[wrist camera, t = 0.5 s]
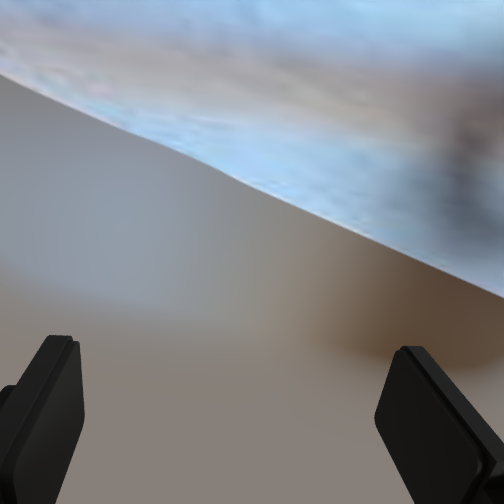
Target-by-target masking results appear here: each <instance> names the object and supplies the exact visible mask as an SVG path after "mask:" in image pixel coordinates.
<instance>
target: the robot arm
mask: <svg viewBox="0 0 504 504" xmlns="http://www.w3.org/2000/svg"><path fill="white" fill-rule="evenodd" d="M84 417H85V412H84V398H83V385H82V370H81V355H80V344H79V342H78V341H73V339H72V336H62V335H49V336H47V338H46V339H45V341H44V342H43V343H42V345H41V347H40V348H39V350H38V351H37V353H36V355H35V356H34V358H33V359H32V361H31V362H30V364H29V366H28V367H27V369H26V370H25V372H24V373H23V375H22V377H21V378H20V380H19V381H18V383H17V384H16V385H8V386H6V387H4V388H3V389H2V390H1V392H0V504H55V503H56V500H57V497H58V494H59V492H60V489H61V486H62V483H63V481H64V478H65V475H66V472H67V470H68V467H69V464H70V461H71V458H72V456H73V453H74V450H75V447H76V444H77V442H78V439H79V436H80V434H81V431H82V428H83V424H84ZM374 419H375V425H376V427H377V429H378V432H379V433H380V436H381V437H382V440H383V441H384V443H385V445H386V447H387V449H388V451H389V453H390V455H391V457H392V459H393V461H394V463H395V465H396V467H397V469H398V471H399V473H400V475H401V477H402V479H403V481H404V483H405V485H406V487H407V489H408V491H409V493H410V495H411V497H412V499H413V501H414V503H415V504H504V443H503V442H502V441H501V439H500V438H499V437H498V436H497V435H496V433H495V432H494V431H493V430H492V429H491V427H490V426H489V425H488V424H487V423H486V421H485V420H484V419H483V418H482V417H481V415H480V414H479V413H478V412H477V411H476V410H475V408H474V407H473V406H472V405H471V403H470V402H469V401H468V400H467V399H466V397H465V396H464V395H463V394H462V393H461V392H460V390H459V389H458V388H457V387H456V386H455V384H454V383H453V382H452V381H451V380H450V378H449V377H448V376H447V375H446V374H445V372H444V371H443V370H442V369H441V368H440V367H439V365H438V364H437V363H436V362H435V360H434V359H433V358H432V357H431V356H430V354H429V353H428V352H427V351H426V350H425V349H424V348H423V347H421V346H402V347H401V348H400V350H398V351H396V352H395V354H394V357H393V360H392V363H391V366H390V369H389V373H388V375H387V378H386V382H385V385H384V388H383V391H382V394H381V397H380V400H379V403H378V406H377V409H376V412H375V417H374Z"/></svg>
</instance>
